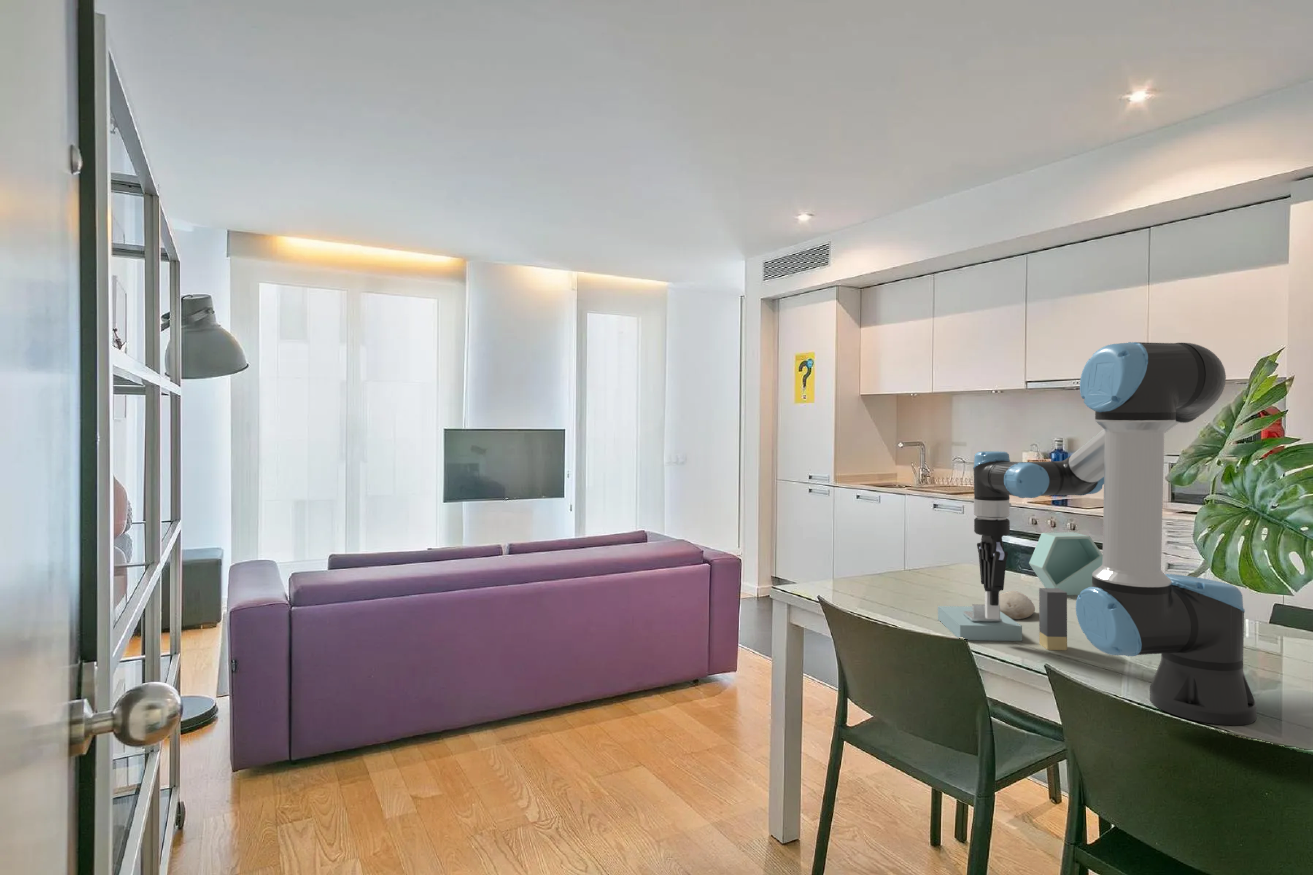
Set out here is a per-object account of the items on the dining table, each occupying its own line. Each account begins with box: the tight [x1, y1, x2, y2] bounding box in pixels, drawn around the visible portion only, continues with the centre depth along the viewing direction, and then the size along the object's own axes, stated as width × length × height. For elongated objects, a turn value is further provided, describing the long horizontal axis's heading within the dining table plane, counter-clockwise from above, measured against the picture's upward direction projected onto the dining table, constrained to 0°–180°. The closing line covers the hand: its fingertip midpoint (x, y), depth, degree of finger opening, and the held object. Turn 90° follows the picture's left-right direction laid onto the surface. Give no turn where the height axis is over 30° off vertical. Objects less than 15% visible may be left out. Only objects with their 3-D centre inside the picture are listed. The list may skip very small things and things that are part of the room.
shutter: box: [963, 603, 1002, 622], centre depth 175 cm, size 7×7×4 cm
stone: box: [999, 590, 1036, 620], centre depth 192 cm, size 13×10×8 cm
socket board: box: [937, 605, 1023, 642], centre depth 178 cm, size 18×14×4 cm
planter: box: [1028, 531, 1103, 596], centre depth 216 cm, size 17×8×21 cm
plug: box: [1038, 587, 1068, 651], centre depth 164 cm, size 4×4×13 cm
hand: (992, 617), depth 168 cm, fingers closed
